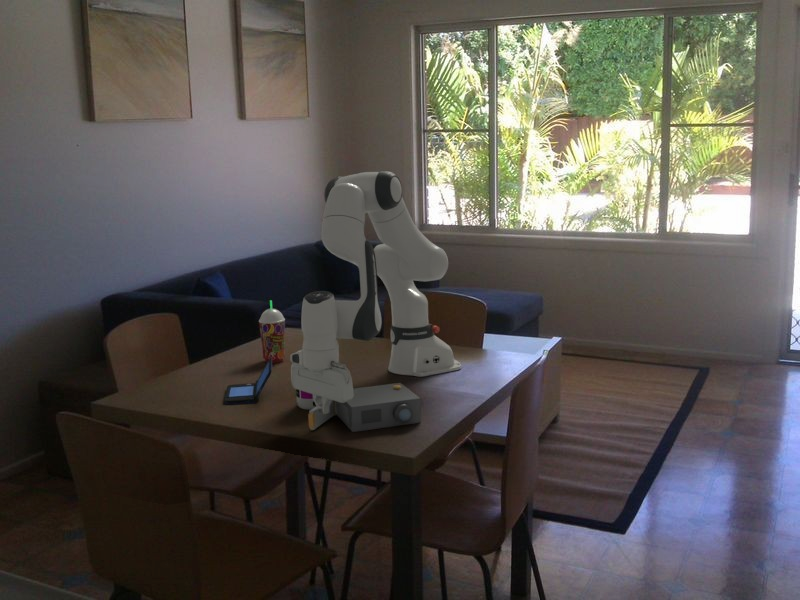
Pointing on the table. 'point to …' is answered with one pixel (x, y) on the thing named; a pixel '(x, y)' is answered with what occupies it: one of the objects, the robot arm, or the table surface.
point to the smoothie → (272, 334)
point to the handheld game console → (248, 388)
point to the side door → (320, 416)
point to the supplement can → (305, 399)
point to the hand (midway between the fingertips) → (322, 412)
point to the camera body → (380, 407)
